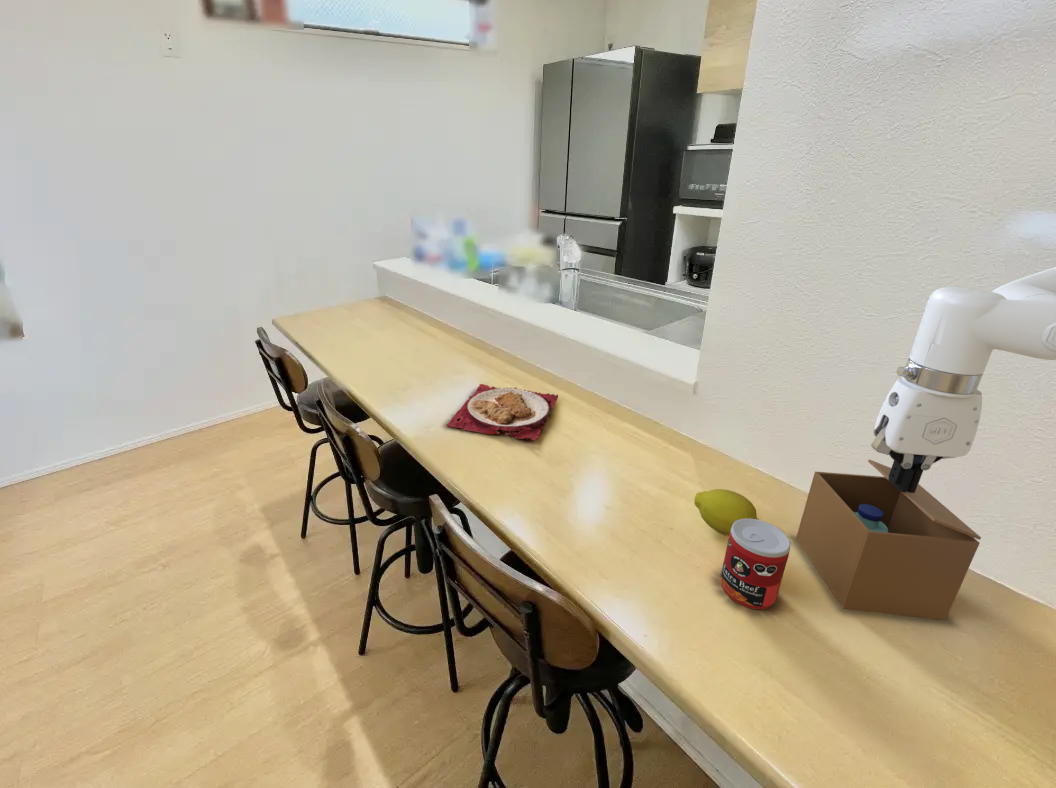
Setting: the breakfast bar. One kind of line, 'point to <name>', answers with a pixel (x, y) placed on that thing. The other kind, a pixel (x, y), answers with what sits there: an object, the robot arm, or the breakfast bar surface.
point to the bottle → (871, 518)
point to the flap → (930, 505)
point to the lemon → (723, 509)
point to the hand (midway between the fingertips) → (900, 486)
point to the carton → (882, 548)
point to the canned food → (754, 563)
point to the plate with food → (505, 412)
